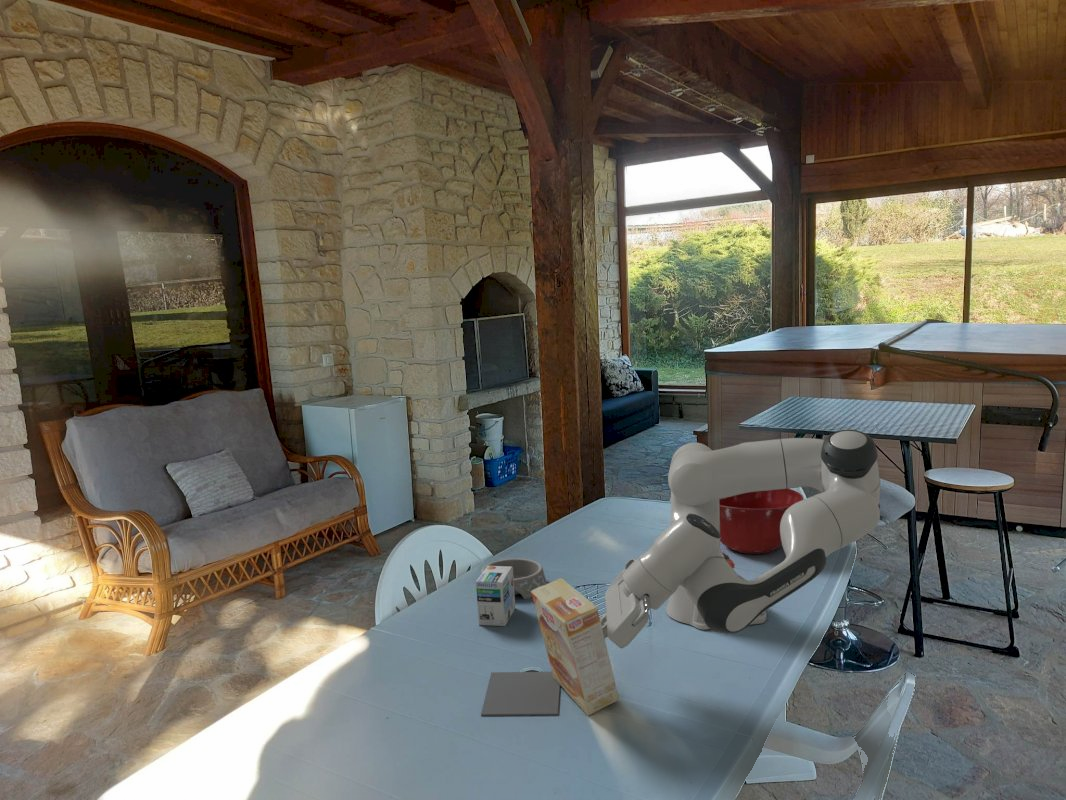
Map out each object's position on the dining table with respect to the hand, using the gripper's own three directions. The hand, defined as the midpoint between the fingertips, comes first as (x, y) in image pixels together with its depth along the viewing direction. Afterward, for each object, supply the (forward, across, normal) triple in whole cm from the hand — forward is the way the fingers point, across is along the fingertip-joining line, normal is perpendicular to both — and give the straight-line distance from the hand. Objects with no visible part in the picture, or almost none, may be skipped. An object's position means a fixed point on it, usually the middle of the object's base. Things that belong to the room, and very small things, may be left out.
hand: (595, 637), depth 137 cm
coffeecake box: (+9, +1, -6) cm, 11 cm away
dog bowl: (+24, +53, +7) cm, 59 cm away
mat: (+18, +1, +2) cm, 18 cm away
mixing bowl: (-24, +79, -41) cm, 92 cm away
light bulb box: (+25, +35, +9) cm, 44 cm away
